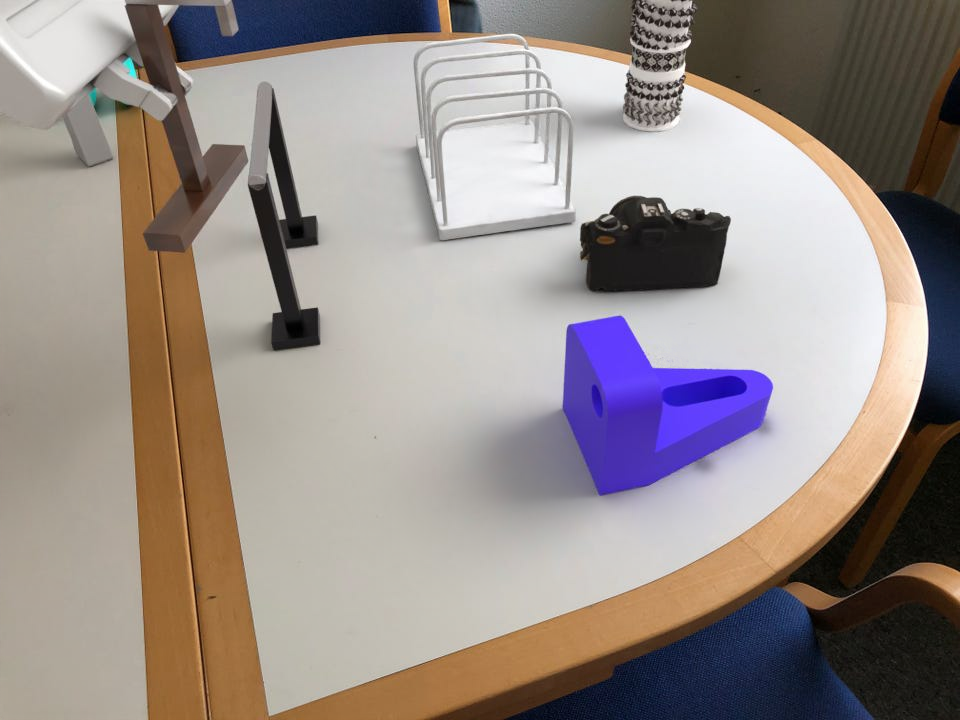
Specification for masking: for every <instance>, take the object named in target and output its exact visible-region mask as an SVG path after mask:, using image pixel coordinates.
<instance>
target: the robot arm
mask: <svg viewBox="0 0 960 720" xmlns="http://www.w3.org/2000/svg"><path fill="white" fill-rule="evenodd" d="M125 5H126V3H125V0H0V112H1V113H4V114H5V115H7V116H8V117H10V118H11V119H13V120H14V121H16V122H17V123H19V124H21V125H23V126H26V127H29V128H33V129H37V130H38V129H39V130H43V131H46V130H47V131H48V130H50V129H51V128H53V126H54V125H56V124H57V123H58V122H59V121H60V120H61V119H63V118H62V117H63V116H65V115H66V114H67V113H68V112H69V111H70V110H71V109H72V108H73V107H75V106H76V105H77V104H78V103H79V102H80V101H81V100H82V99H84V98H85V97H86V96H87V95H88V94H89V93H90V92H91V91H93V90H94V89H95V88H96V90H99V91H100V92H101V93H102V94H104V96H107V98H109V99H111V100H114V101H116V102H117V101H118V102H120V103H122V102H123V103H127V104H130V105H129V106H133V107H137V108H140V109H141V110H143V111H144V112H145V113H147V114H148V115H149V116H151V118H153V119H155V120H156V121H159V122H162V120H164V119H165V117H166V116H167V115H168V114H169V113H170V112H171V110H172V109H173V108H174V106H175V105H176V104H177V101H178V99H177V97H176V96H175V95H174V94H173V93H171V92H169V91H168V90H167V89H166V88H165V87H164V86H163V85H161V84H160V83H157V84H156V85H155V86H152V85H150V83H149V82H146V81H143V80H141V79H139V78H138V77H137V78H135V77H133V76H130V75H128V74H129V72H130V69H129V68H128V67H126V66H125V65H124V64H123V63H124V62H125V61H126V60H127V59H128V58H131V59H132V61H133V62H135V63H136V64H138V66H140V67H142V68H144V65H143V62H142V59H141V55H140V52H139V49H138V46H137V43H136V40H135V37H134V34H133V31H132V28H131V25H130V21H129V18H128V15H127V12H126V9H125ZM158 7H159V10H160V13H161V17H162V20H163V24H164V27H165V26H166V25H168V23H169V22H170V21H171V19H172V17H173V16H174V14H175V13H176V11H177V10H178V9H179V7H180V5H158ZM175 64H176V68H177V71H178V74H179V78H180V81H181V85H182V88H183V91H184V95H185V97H187V94H189V93H190V91H191V89H192V88H193V87H194V85H195V82H194V79H193V78H192V77H191V76H190V75H189V74H187V73H186V72H185V71H184V70H182V69H181V68H180V67H179V66H178V65H177V63H176V62H175ZM123 103H122V104H123Z"/></svg>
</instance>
